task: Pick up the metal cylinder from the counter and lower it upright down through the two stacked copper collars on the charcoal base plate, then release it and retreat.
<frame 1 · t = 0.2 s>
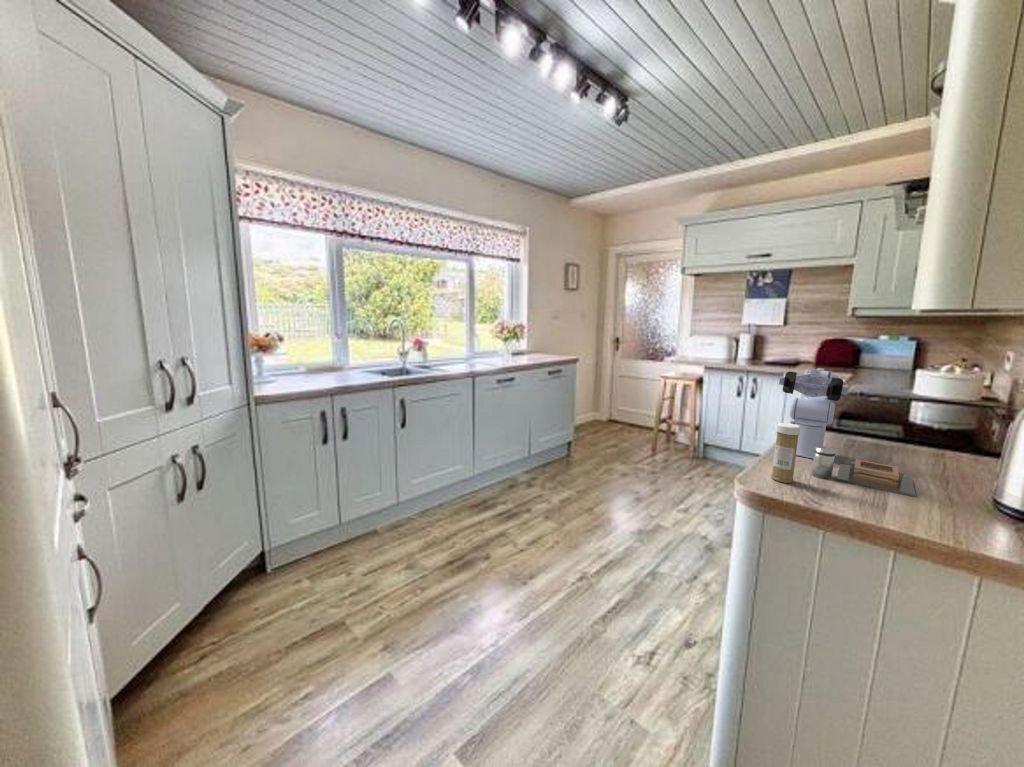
hand: (809, 388, 106), 21 cm above the table, tool horizontal, fingers open, 7 cm apart
sprinkles bottle: (781, 480, 104), on the table
collar stand: (874, 479, 106), on the table
metal cylinder: (821, 476, 108), on the table
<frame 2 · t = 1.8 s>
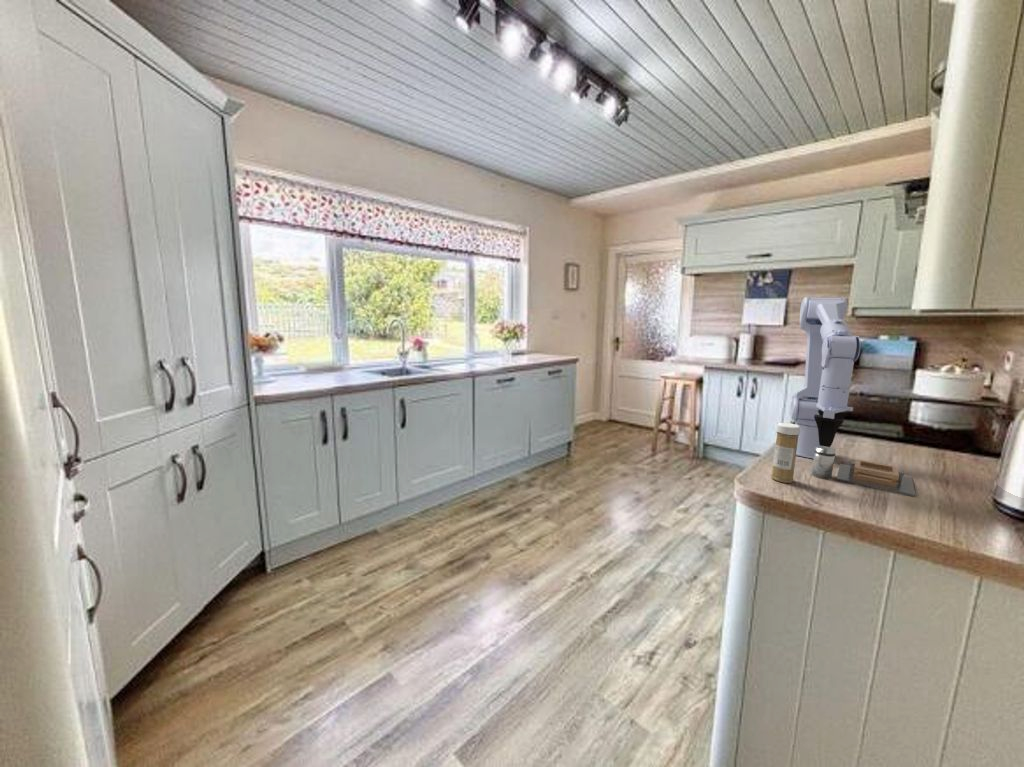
hand: (826, 442, 106), 8 cm above the table, tool pointing down, fingers open, 7 cm apart
nothing on the table moved.
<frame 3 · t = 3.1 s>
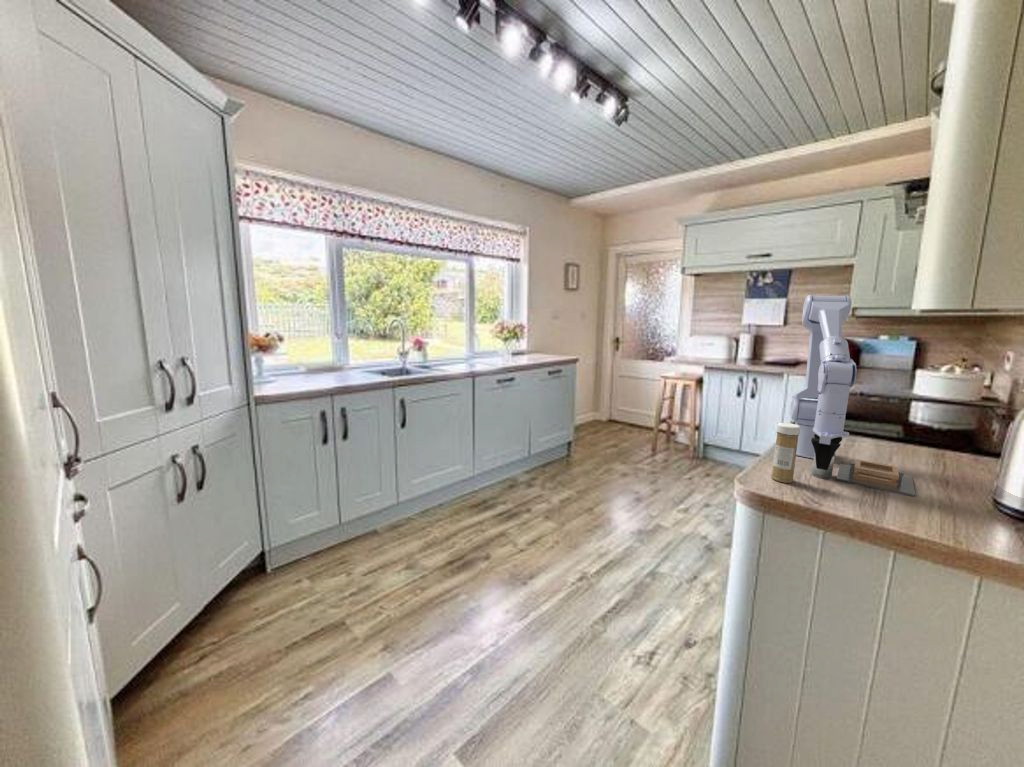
hand: (822, 466, 107), 2 cm above the table, tool pointing down, fingers closed on metal cylinder, 4 cm apart
metal cylinder: (821, 476, 108), on the table, touching gripper
everything else where it was.
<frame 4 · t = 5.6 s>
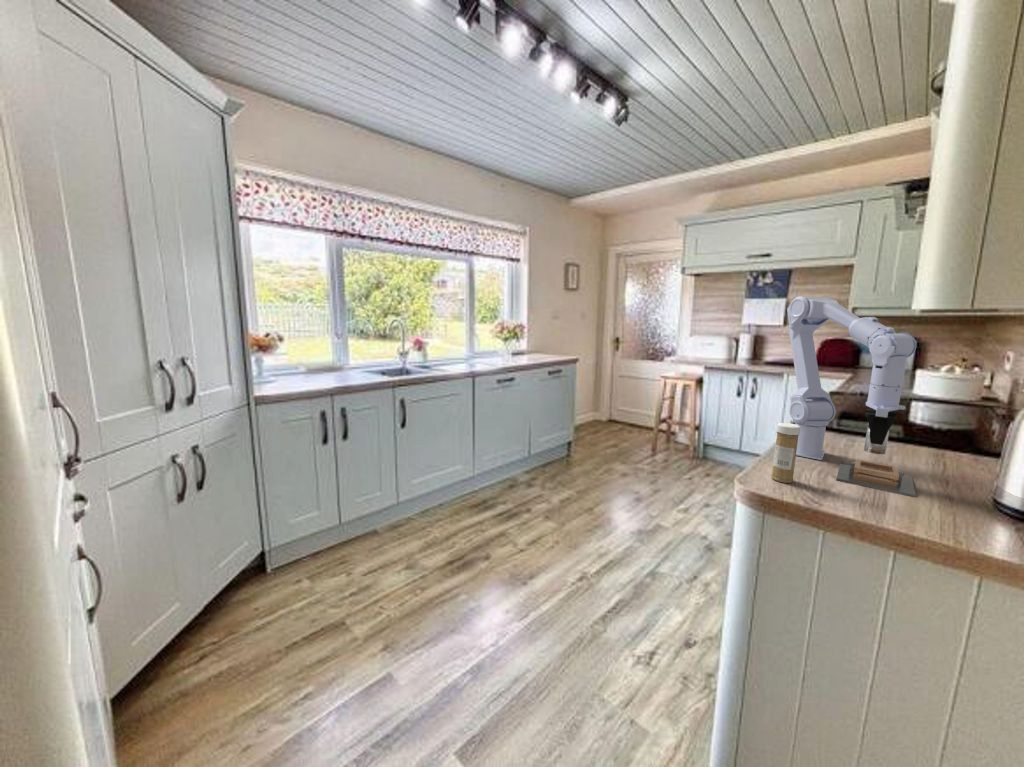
hand: (876, 441, 105), 9 cm above the table, tool pointing down, fingers closed on metal cylinder, 4 cm apart
metal cylinder: (874, 451, 105), point 7 cm above the table, touching gripper
everything else where it was.
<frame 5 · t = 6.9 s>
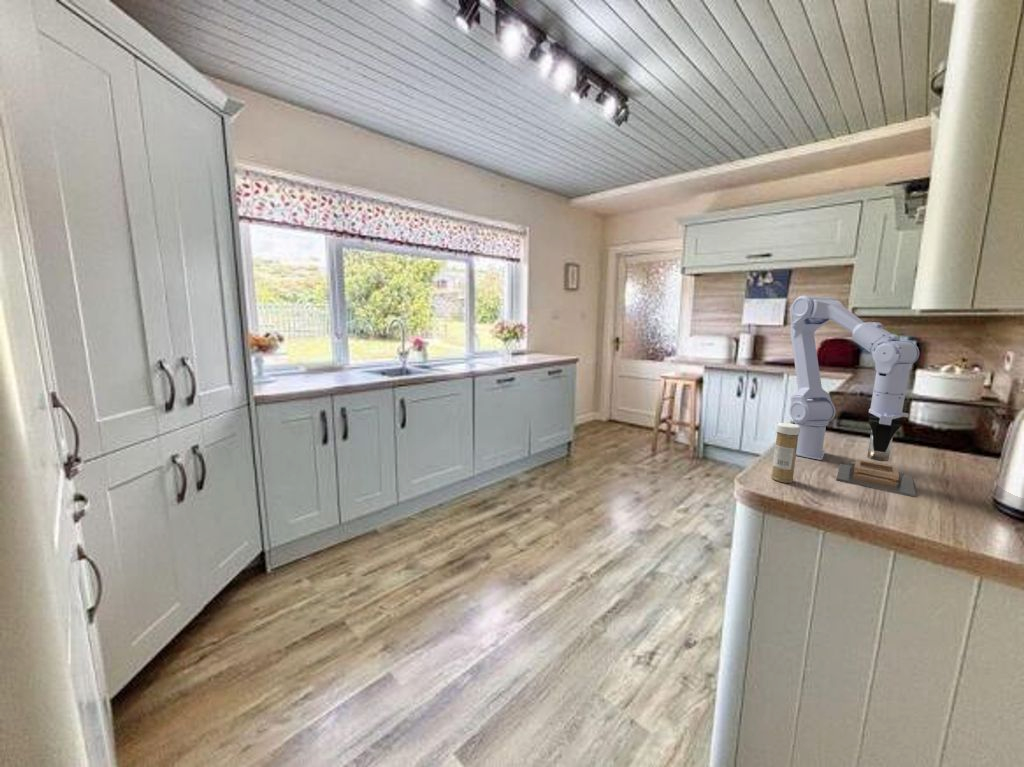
hand: (879, 448, 105), 8 cm above the table, tool pointing down, fingers closed on metal cylinder, 4 cm apart
metal cylinder: (877, 458, 105), point 5 cm above the table, touching gripper
everything else where it was.
when the fingers open (4 cm above the table, at t = 8.1 s): metal cylinder stays where it is, resting on collar stand.
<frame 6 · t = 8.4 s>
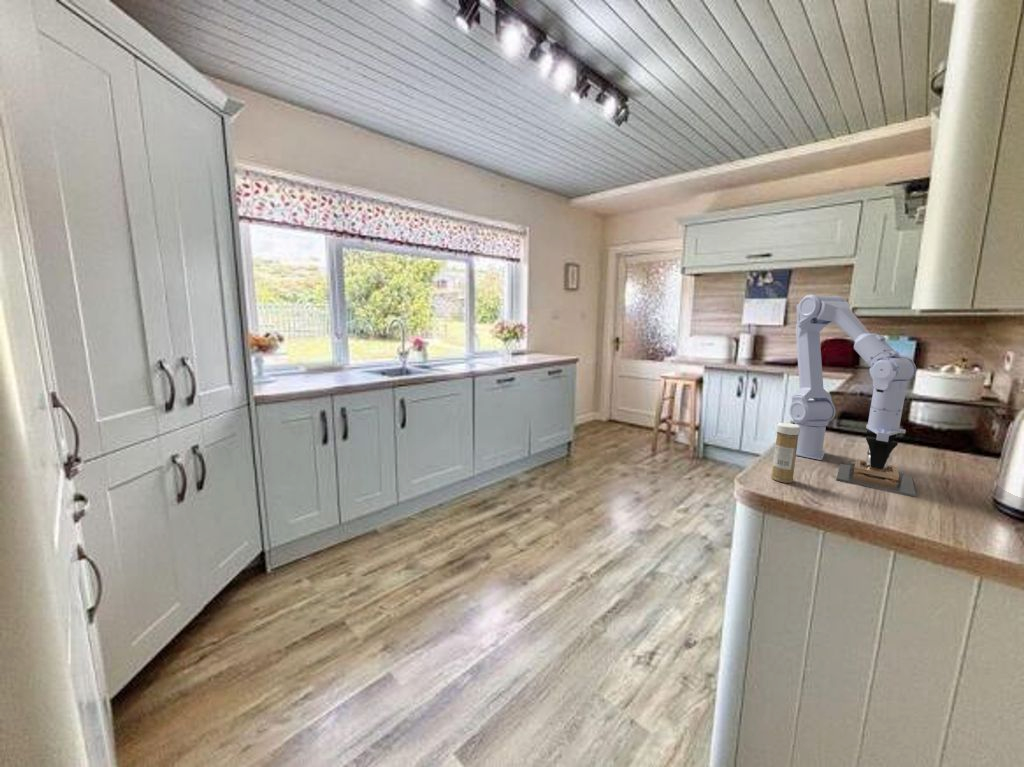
hand: (876, 464, 105), 4 cm above the table, tool pointing down, fingers open, 6 cm apart
metal cylinder: (874, 477, 106), point 1 cm above the table, touching collar stand
everything else where it was.
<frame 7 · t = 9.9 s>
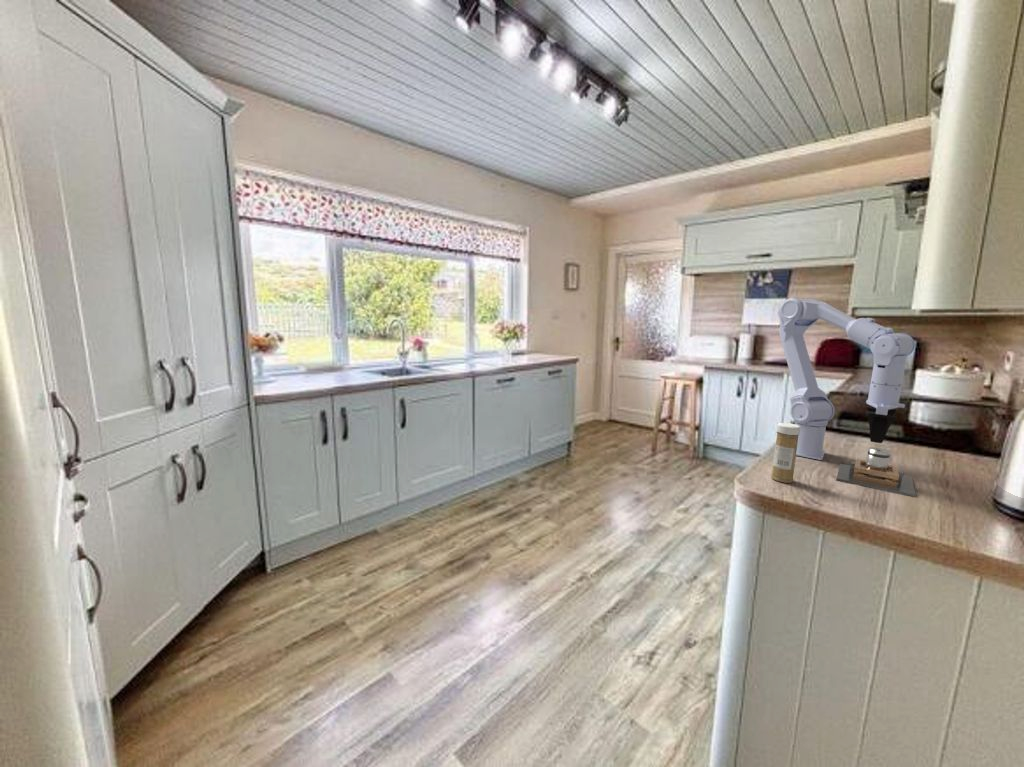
hand: (876, 438, 108), 9 cm above the table, tool pointing down, fingers open, 7 cm apart
nothing on the table moved.
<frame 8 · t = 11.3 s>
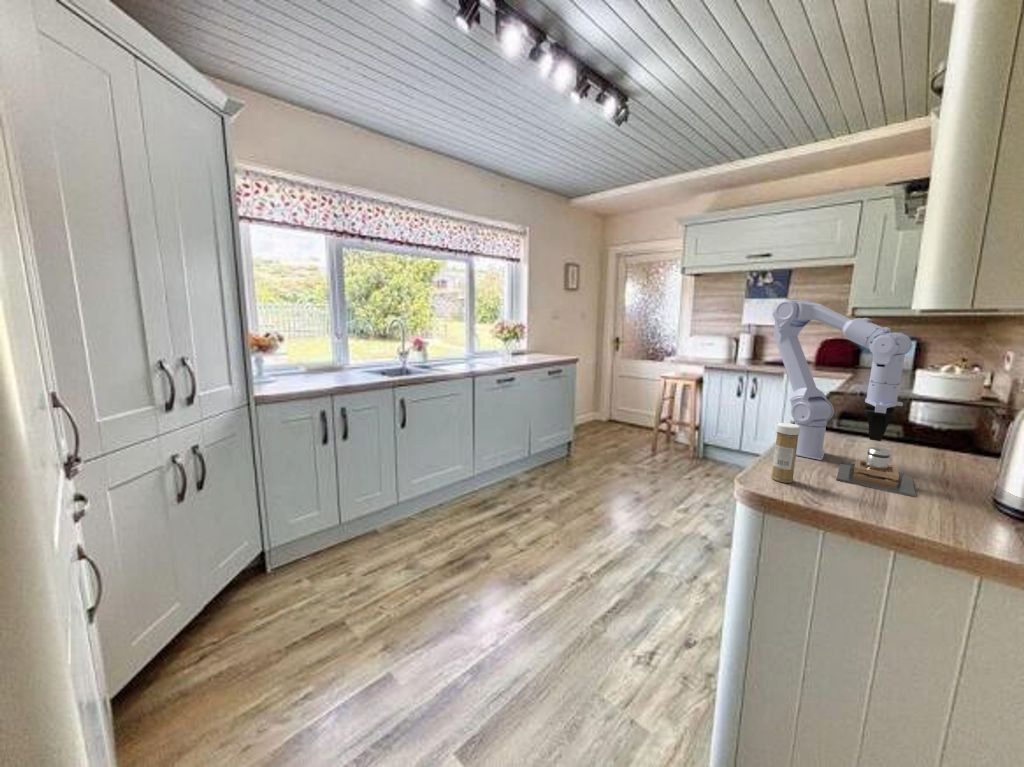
hand: (875, 437, 109), 9 cm above the table, tool pointing down, fingers open, 7 cm apart
nothing on the table moved.
at the end: metal cylinder 0.0 cm off-centre on the collar stand, point 0.5 cm above the collar stand's base; metal cylinder tilted 1°; the gripper is holding nothing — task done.
